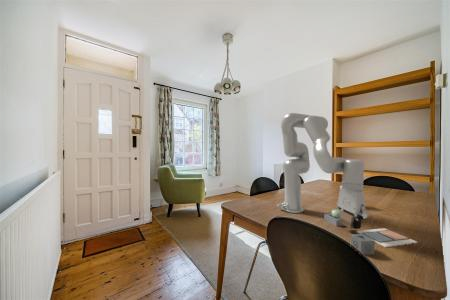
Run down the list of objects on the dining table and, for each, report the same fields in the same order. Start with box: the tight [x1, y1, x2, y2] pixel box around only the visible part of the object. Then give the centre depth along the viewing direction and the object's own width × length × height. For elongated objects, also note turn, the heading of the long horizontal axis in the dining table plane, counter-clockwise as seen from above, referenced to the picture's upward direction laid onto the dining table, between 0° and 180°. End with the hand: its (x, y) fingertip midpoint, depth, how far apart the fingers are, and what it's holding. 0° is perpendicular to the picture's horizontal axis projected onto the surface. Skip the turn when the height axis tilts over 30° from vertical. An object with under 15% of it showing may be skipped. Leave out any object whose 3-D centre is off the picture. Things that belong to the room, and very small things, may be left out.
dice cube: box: [350, 233, 376, 255], centre depth 65 cm, size 5×5×5 cm
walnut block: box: [339, 211, 359, 230], centre depth 79 cm, size 6×6×6 cm
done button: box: [331, 208, 341, 219], centre depth 89 cm, size 4×4×4 cm
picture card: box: [355, 227, 418, 248], centre depth 74 cm, size 16×12×1 cm
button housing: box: [323, 213, 345, 227], centre depth 89 cm, size 8×8×3 cm
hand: (350, 224), depth 79 cm, fingers closed on walnut block, 5 cm apart
